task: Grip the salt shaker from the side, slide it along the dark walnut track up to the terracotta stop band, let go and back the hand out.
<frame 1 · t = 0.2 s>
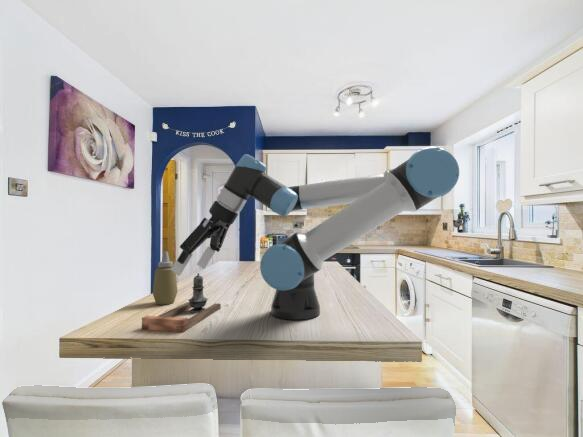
hand: (189, 269, 86), 15 cm above the countertop, tool tilted 35°, fingers open, 13 cm apart
track: (185, 317, 89), on the countertop
squeeze bottle: (165, 303, 106), on the countertop
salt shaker: (197, 311, 96), on the countertop
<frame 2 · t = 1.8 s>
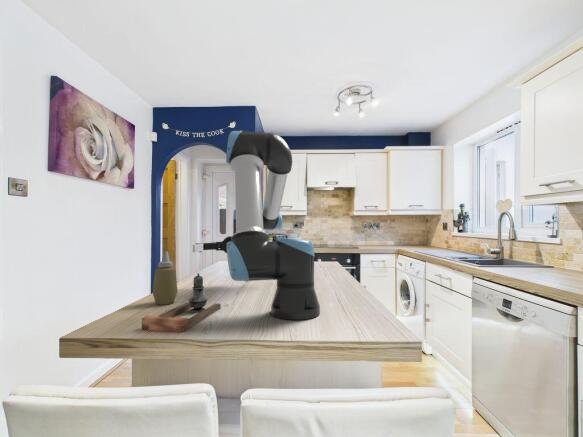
hand: (211, 248, 107), 19 cm above the countertop, tool horizontal, fingers open, 13 cm apart
nothing on the countertop moved.
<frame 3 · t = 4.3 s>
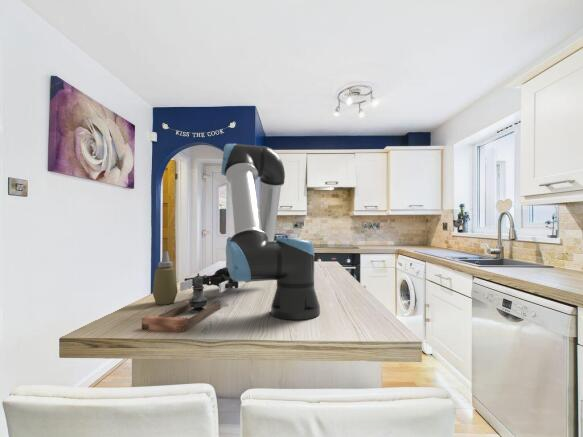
hand: (200, 287, 99), 7 cm above the countertop, tool horizontal, fingers open, 13 cm apart
nothing on the countertop moved.
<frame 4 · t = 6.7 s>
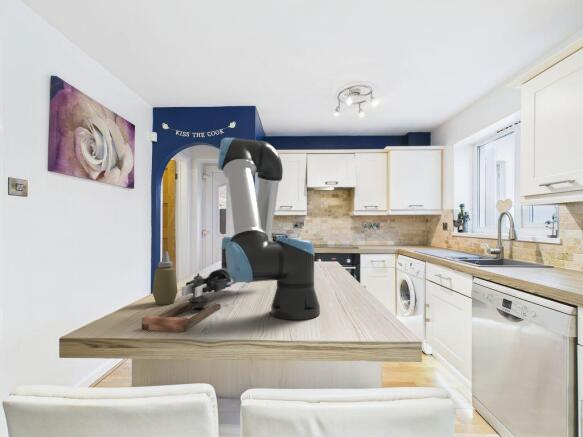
hand: (189, 292, 91), 7 cm above the countertop, tool horizontal, fingers closed on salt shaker, 4 cm apart
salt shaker: (197, 311, 96), on the countertop, touching gripper
everything else where it was.
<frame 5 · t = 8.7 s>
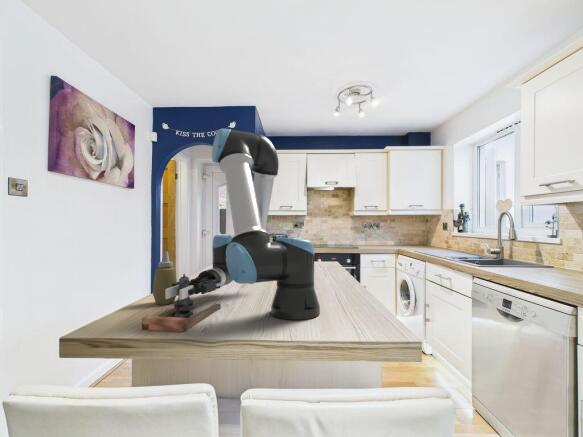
hand: (173, 294, 84), 8 cm above the countertop, tool horizontal, fingers closed on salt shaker, 4 cm apart
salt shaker: (183, 314, 90), point 1 cm above the countertop, touching gripper
everything else where it was.
when the fingers open (8 cm above the countertop, at t = 10.8 s): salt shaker stays where it is, on the countertop.
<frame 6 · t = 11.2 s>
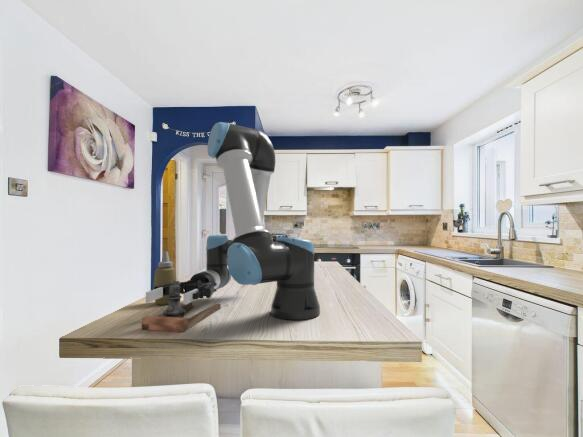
hand: (165, 298, 79), 8 cm above the countertop, tool horizontal, fingers open, 10 cm apart
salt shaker: (174, 324, 83), on the countertop
everything else where it was.
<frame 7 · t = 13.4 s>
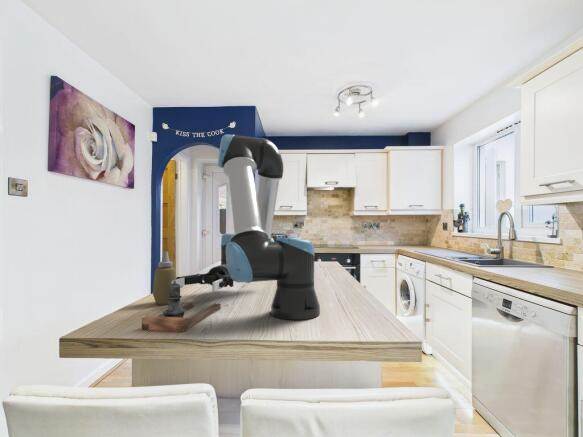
hand: (192, 286, 93), 8 cm above the countertop, tool horizontal, fingers open, 13 cm apart
nothing on the countertop moved.
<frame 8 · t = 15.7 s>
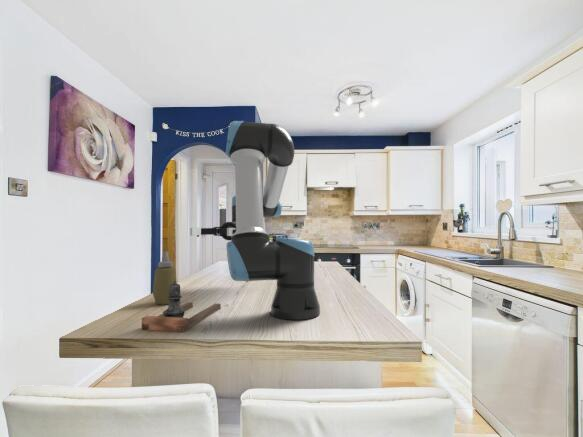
hand: (209, 231, 105), 25 cm above the countertop, tool horizontal, fingers open, 13 cm apart
nothing on the countertop moved.
at the end: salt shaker 0.5 cm from the target spot, on the countertop; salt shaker tilted 0°; the gripper is holding nothing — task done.
